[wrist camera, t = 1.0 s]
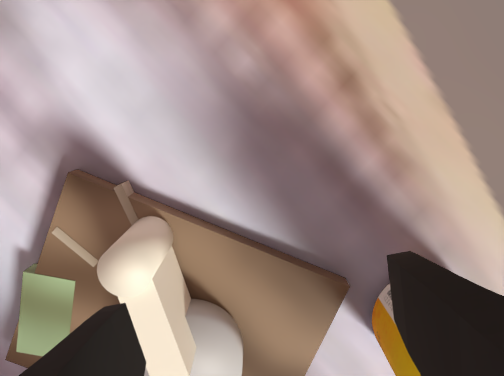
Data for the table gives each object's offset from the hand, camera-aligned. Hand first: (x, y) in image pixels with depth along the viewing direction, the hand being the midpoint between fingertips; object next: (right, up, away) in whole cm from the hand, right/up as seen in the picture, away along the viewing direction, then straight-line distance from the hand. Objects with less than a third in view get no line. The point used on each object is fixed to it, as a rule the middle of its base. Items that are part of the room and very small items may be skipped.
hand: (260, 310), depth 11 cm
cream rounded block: (-4, -3, +12) cm, 14 cm away
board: (-5, -4, +14) cm, 15 cm away
